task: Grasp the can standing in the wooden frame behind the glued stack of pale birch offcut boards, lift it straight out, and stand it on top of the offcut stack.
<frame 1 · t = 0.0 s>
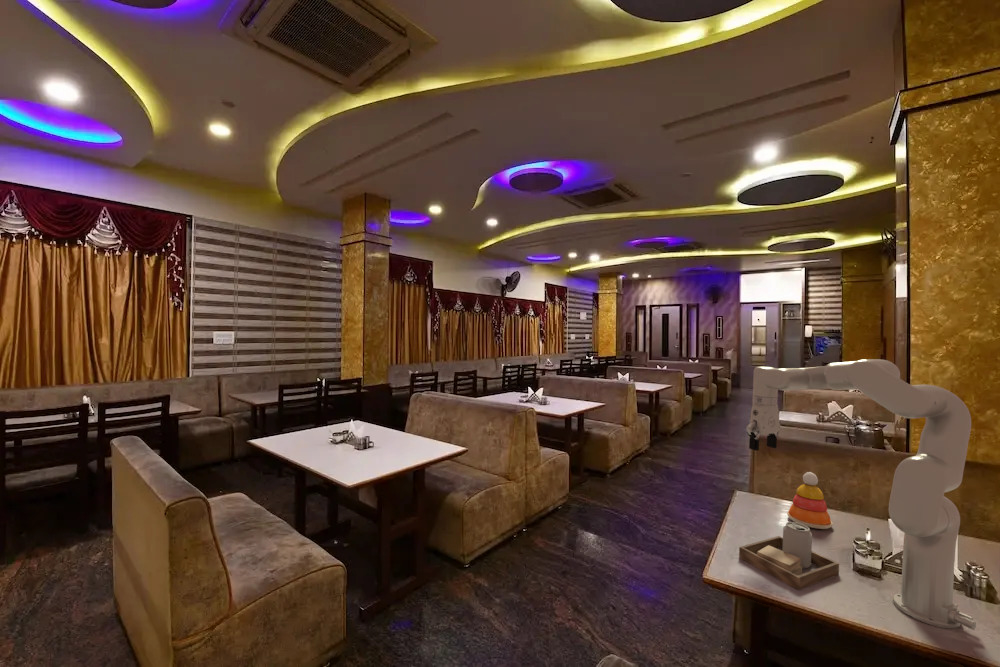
hand: (762, 448, 152), 31 cm above the table, fingers open, 9 cm apart
offcut stack: (778, 569, 130), resting in wooden frame
stacking toy: (809, 523, 163), on the table
can: (796, 563, 134), resting in wooden frame
wooden frame: (787, 566, 132), on the table
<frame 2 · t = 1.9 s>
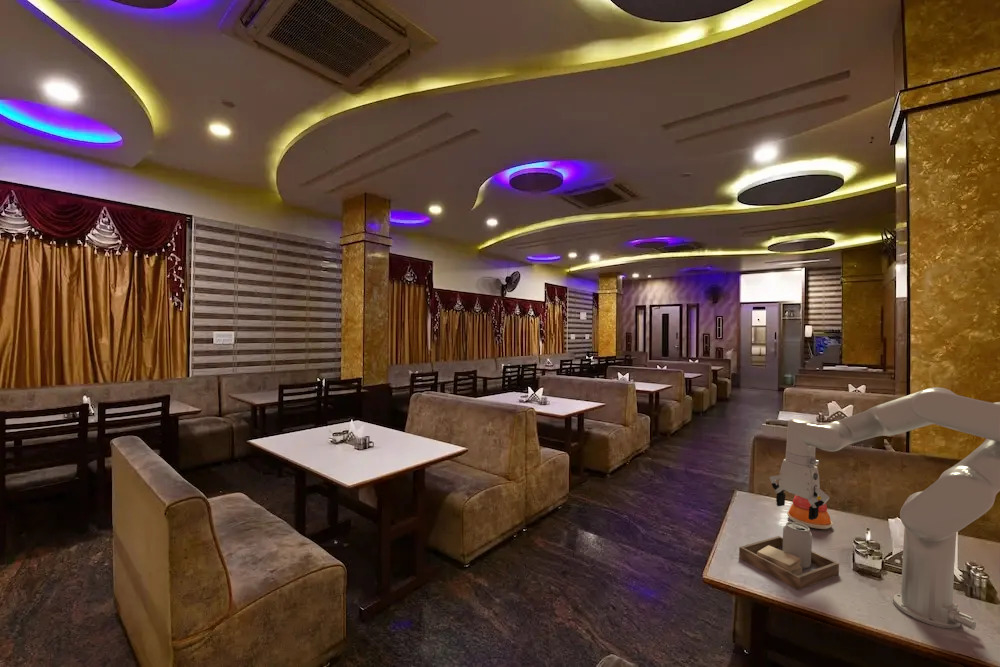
hand: (796, 512, 134), 16 cm above the table, fingers open, 9 cm apart
nothing on the table moved.
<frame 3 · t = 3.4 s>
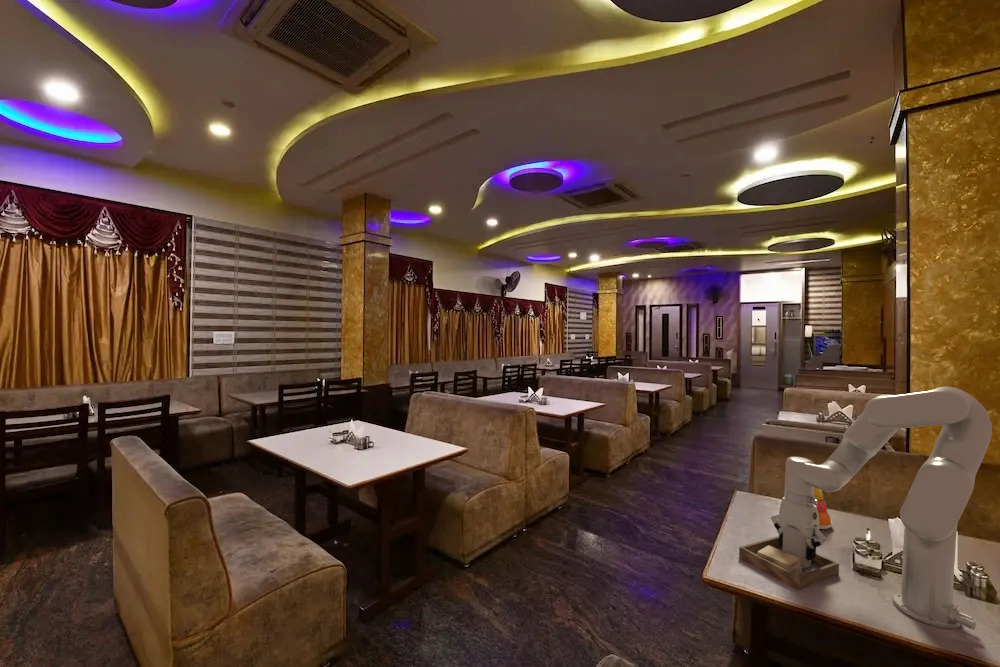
hand: (796, 552, 134), 3 cm above the table, fingers closed on can, 7 cm apart
can: (796, 563, 134), resting in wooden frame, touching gripper
everything else where it was.
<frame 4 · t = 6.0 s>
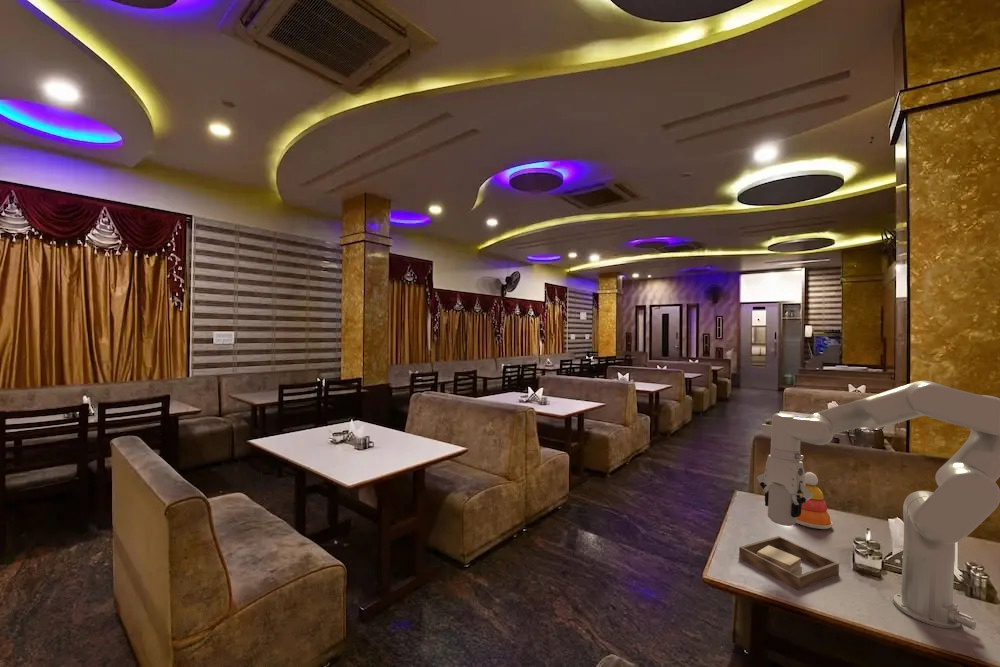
hand: (782, 510, 130), 18 cm above the table, fingers closed on can, 7 cm apart
can: (781, 522, 130), point 14 cm above the table, touching gripper
everything else where it was.
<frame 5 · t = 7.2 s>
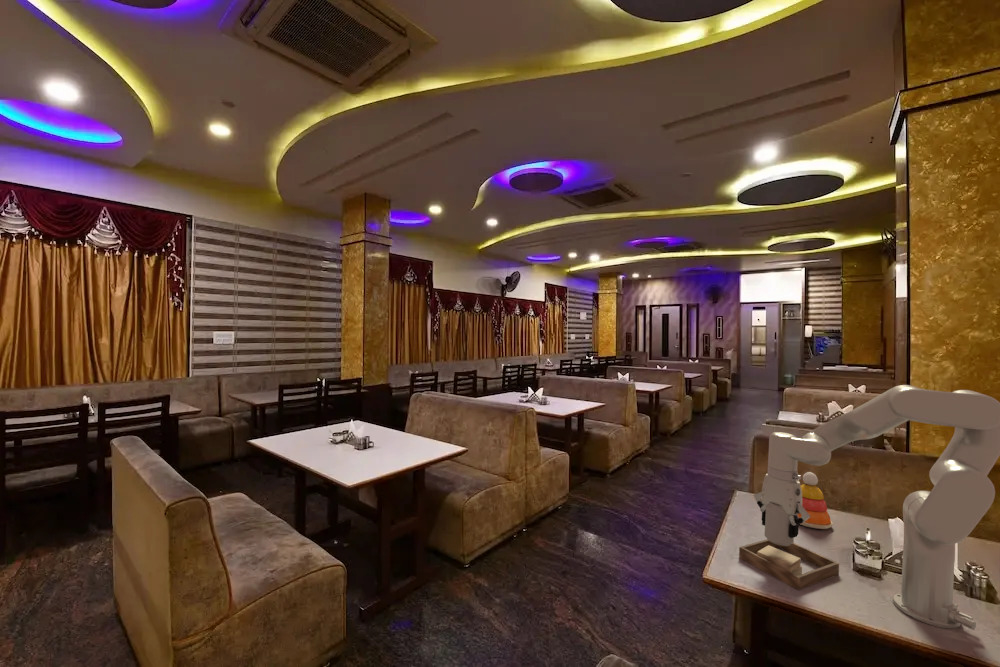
hand: (779, 530, 130), 12 cm above the table, fingers closed on can, 7 cm apart
can: (778, 541, 130), point 8 cm above the table, touching gripper
everything else where it was.
when the fingers open (8 cm above the table, at t = 8.5 s): can stays where it is, resting on offcut stack.
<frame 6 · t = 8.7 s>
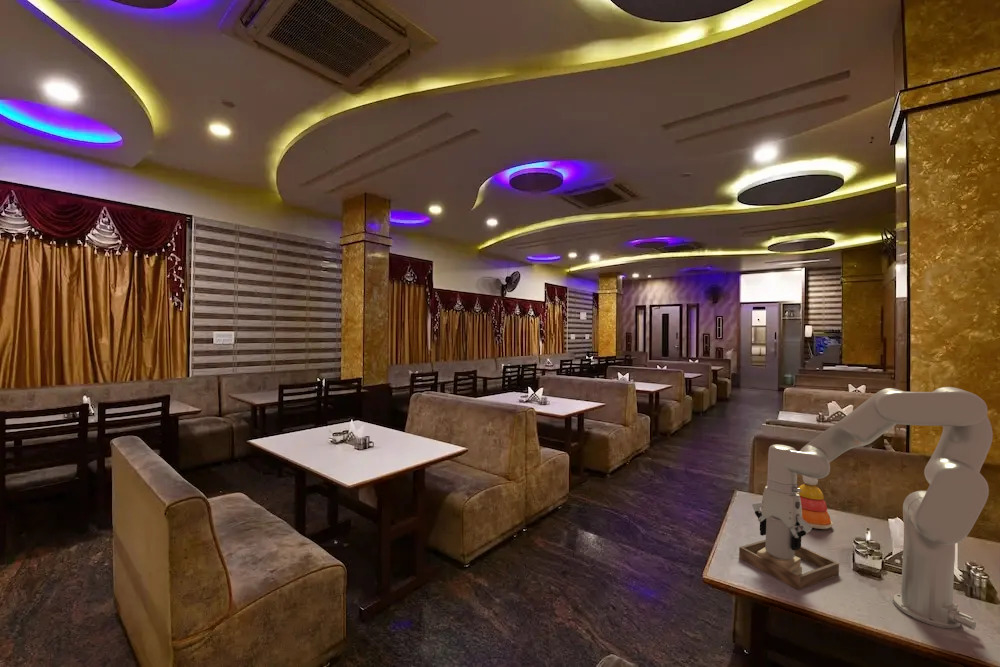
hand: (779, 541, 130), 9 cm above the table, fingers open, 9 cm apart
can: (779, 555, 130), point 4 cm above the table, touching offcut stack
everything else where it was.
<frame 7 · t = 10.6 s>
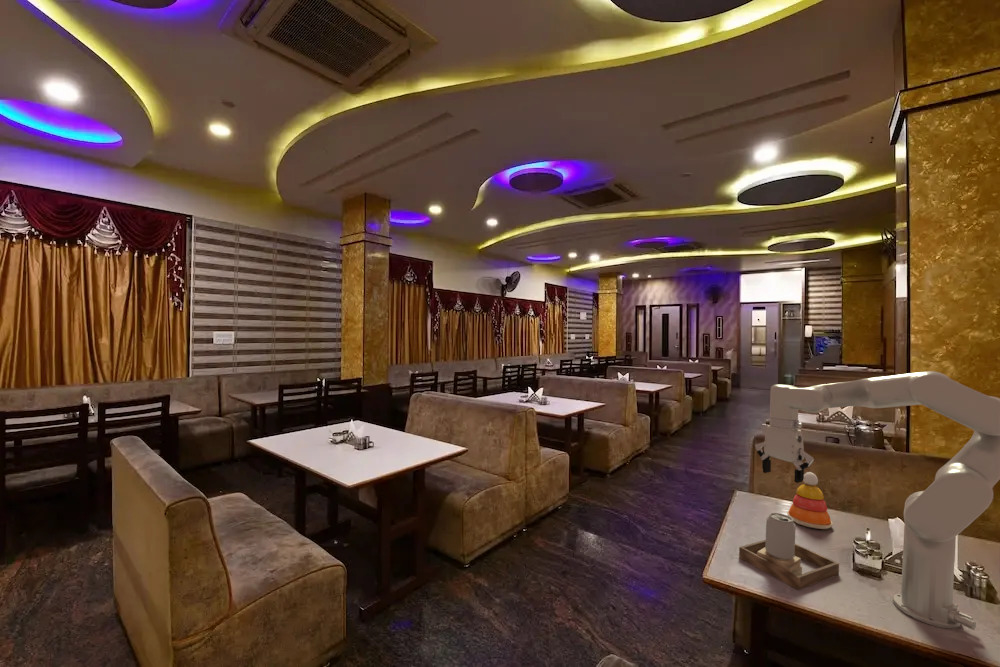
hand: (782, 476, 135), 27 cm above the table, fingers open, 9 cm apart
nothing on the table moved.
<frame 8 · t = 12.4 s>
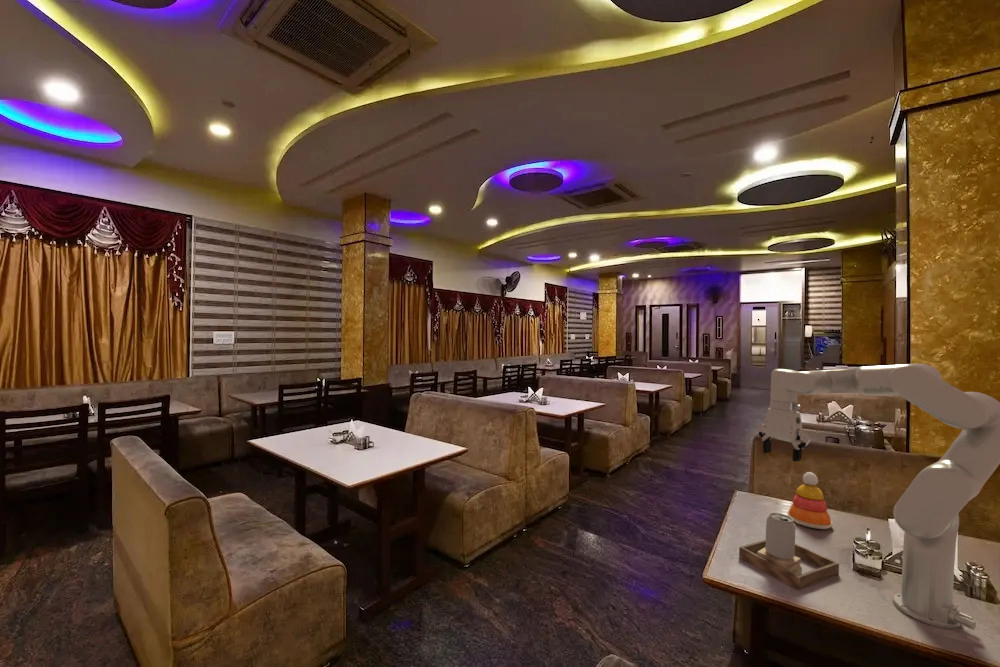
hand: (781, 456, 142), 31 cm above the table, fingers open, 9 cm apart
nothing on the table moved.
at the end: can touching offcut stack; can tilted 0° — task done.
